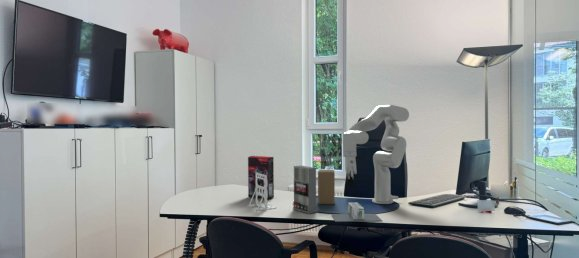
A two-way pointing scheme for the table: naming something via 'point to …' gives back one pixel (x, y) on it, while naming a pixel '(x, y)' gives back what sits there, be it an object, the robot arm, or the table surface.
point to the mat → (349, 219)
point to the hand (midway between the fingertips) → (350, 185)
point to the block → (326, 187)
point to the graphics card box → (262, 167)
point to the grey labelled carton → (305, 189)
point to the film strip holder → (261, 195)
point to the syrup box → (356, 210)
